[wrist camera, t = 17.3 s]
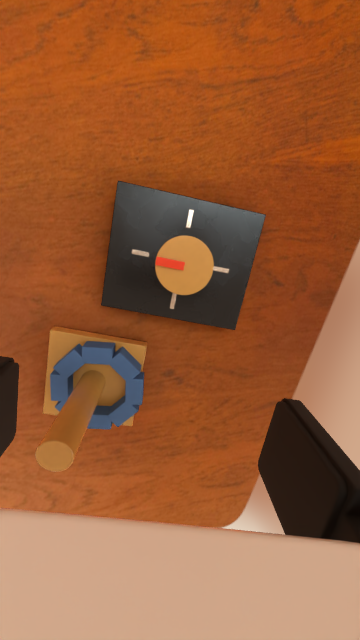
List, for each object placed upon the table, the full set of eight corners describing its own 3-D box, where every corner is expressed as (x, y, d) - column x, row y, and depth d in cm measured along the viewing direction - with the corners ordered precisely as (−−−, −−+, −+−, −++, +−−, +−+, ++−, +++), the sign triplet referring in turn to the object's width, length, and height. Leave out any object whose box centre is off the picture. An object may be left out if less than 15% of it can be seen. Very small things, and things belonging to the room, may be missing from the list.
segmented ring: (146, 344, 27) (144, 350, 25) (141, 420, 29) (140, 430, 27) (55, 338, 26) (48, 344, 25) (58, 417, 28) (51, 427, 27)
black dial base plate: (256, 217, 25) (266, 214, 23) (229, 322, 28) (235, 330, 25) (122, 186, 24) (117, 180, 21) (106, 299, 27) (100, 305, 24)
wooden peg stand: (147, 342, 28) (136, 406, 17) (133, 419, 30) (115, 518, 19) (54, 325, 27) (-19, 382, 16) (47, 407, 29) (-22, 503, 19)
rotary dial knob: (209, 241, 23) (220, 242, 18) (199, 289, 24) (207, 301, 19) (161, 231, 23) (160, 229, 18) (153, 280, 24) (150, 289, 19)
